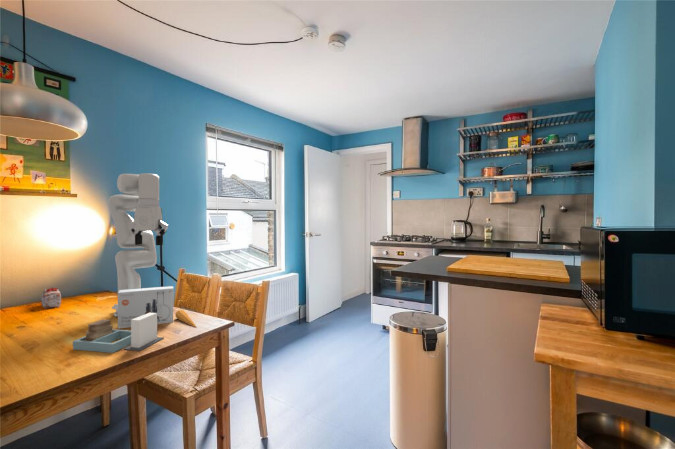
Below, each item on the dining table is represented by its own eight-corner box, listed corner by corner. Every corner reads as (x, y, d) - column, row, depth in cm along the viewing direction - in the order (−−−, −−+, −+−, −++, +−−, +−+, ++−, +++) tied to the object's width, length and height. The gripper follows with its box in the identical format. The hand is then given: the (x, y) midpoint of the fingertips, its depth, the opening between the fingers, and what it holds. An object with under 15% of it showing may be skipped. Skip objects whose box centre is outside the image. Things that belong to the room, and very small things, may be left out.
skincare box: (117, 329, 134) (117, 292, 133) (119, 325, 138) (119, 289, 138) (173, 322, 143) (173, 287, 143) (173, 319, 148) (173, 285, 148)
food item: (62, 307, 166) (62, 288, 166) (41, 310, 160) (41, 291, 160) (59, 302, 176) (59, 285, 175) (40, 305, 170) (40, 287, 170)
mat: (123, 349, 113) (123, 348, 113) (149, 337, 125) (149, 336, 125) (139, 351, 112) (139, 350, 112) (163, 338, 124) (163, 337, 124)
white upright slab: (131, 347, 114) (131, 319, 114) (149, 338, 123) (149, 312, 123) (138, 347, 114) (138, 320, 114) (157, 338, 123) (157, 313, 122)
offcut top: (88, 331, 116) (88, 324, 116) (102, 325, 122) (102, 319, 122) (96, 331, 115) (96, 324, 115) (110, 326, 121) (110, 319, 121)
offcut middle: (85, 340, 115) (85, 331, 115) (103, 332, 123) (103, 325, 123) (95, 340, 115) (95, 332, 115) (112, 333, 122) (112, 325, 122)
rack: (72, 349, 113) (72, 341, 113) (105, 336, 126) (105, 328, 126) (112, 352, 110) (112, 344, 110) (141, 339, 123) (141, 331, 123)
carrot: (176, 319, 149) (172, 312, 148) (185, 314, 152) (181, 306, 151) (193, 334, 136) (189, 326, 134) (203, 328, 139) (199, 320, 137)
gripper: (123, 203, 128) (123, 245, 129) (161, 203, 125) (161, 246, 126) (137, 204, 136) (137, 243, 136) (173, 204, 133) (173, 244, 133)
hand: (148, 244), depth 131 cm, fingers open, 9 cm apart
